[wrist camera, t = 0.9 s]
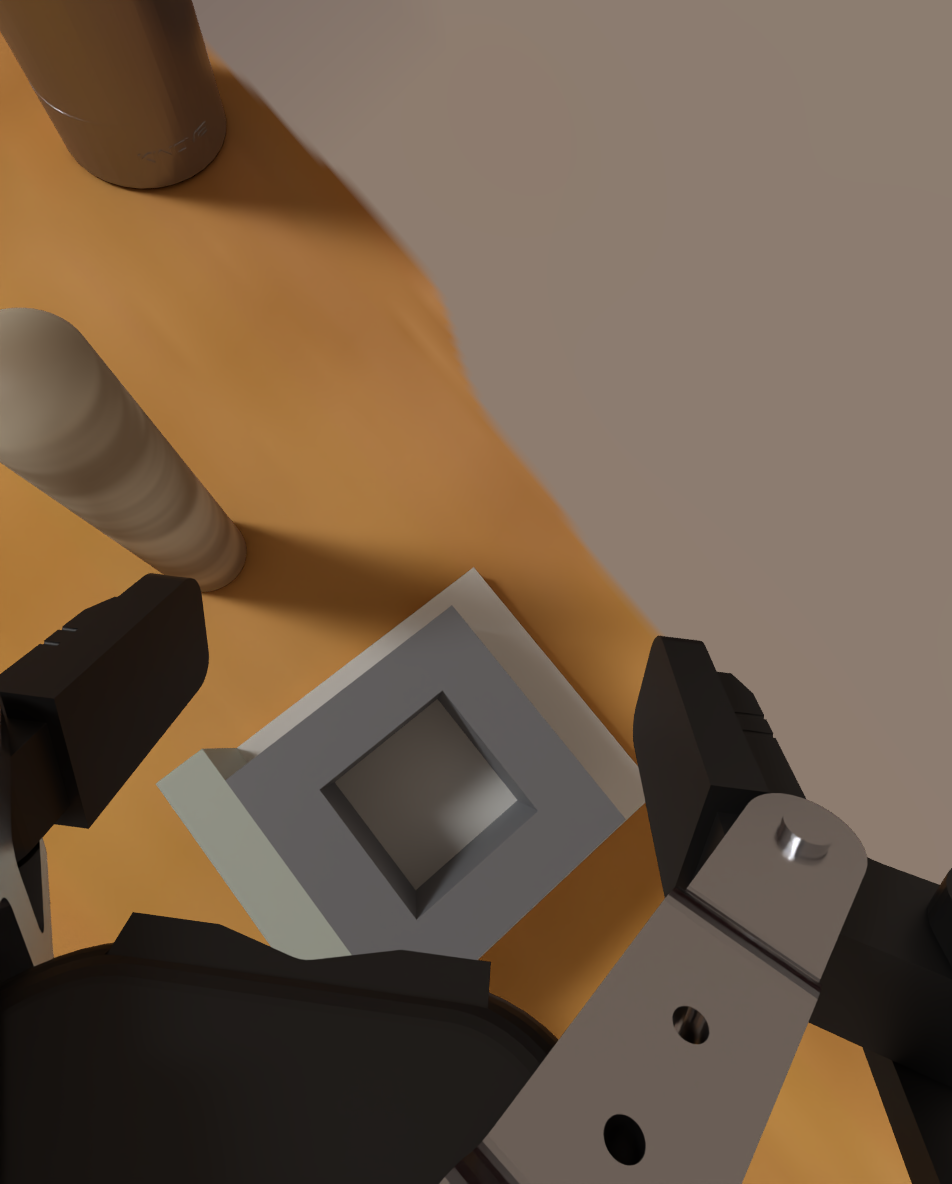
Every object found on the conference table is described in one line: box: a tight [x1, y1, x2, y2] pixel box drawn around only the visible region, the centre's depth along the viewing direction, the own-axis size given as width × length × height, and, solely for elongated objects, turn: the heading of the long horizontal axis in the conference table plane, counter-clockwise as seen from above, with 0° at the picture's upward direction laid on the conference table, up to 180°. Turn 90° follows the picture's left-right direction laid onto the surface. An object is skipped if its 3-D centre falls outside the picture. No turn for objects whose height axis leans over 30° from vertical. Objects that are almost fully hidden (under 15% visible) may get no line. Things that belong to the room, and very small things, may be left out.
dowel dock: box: [156, 567, 645, 960], centre depth 28 cm, size 14×16×6 cm
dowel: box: [0, 308, 246, 592], centre depth 24 cm, size 4×4×16 cm
